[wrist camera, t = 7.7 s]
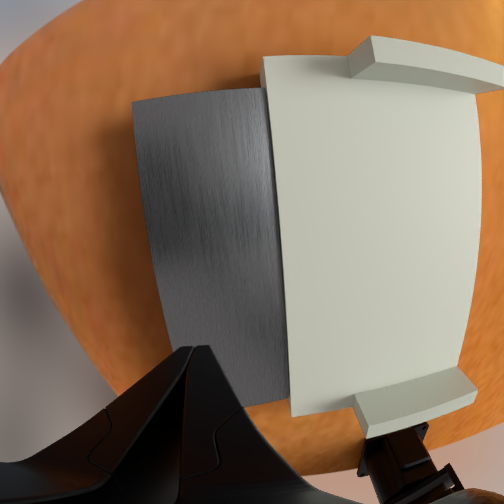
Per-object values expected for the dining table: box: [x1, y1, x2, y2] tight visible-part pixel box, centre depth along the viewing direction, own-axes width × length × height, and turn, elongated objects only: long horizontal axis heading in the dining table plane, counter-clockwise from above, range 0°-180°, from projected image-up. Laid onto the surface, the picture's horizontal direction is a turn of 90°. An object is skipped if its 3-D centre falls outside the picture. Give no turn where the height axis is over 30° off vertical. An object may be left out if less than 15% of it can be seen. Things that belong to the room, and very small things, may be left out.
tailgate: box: [132, 88, 289, 407], centre depth 15 cm, size 17×1×6 cm
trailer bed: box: [259, 35, 504, 439], centre depth 15 cm, size 20×12×6 cm, turn 6°
